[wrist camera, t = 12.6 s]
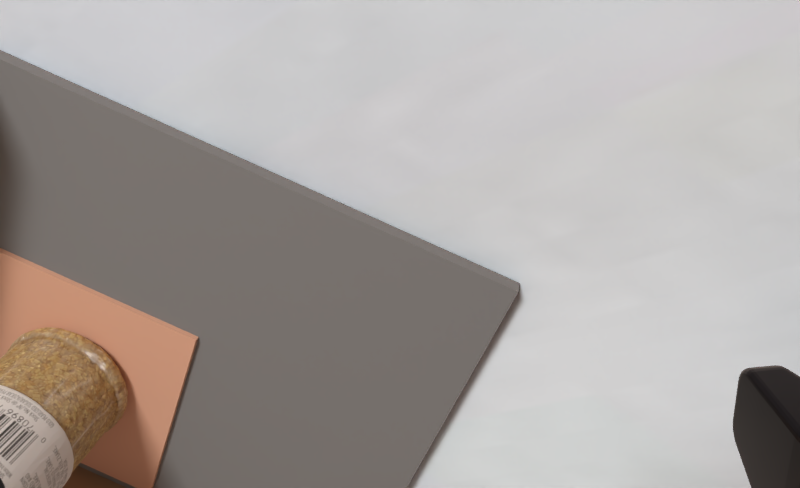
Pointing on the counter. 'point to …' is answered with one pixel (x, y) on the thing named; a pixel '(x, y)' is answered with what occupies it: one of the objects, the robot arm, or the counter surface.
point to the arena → (227, 302)
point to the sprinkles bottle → (54, 405)
